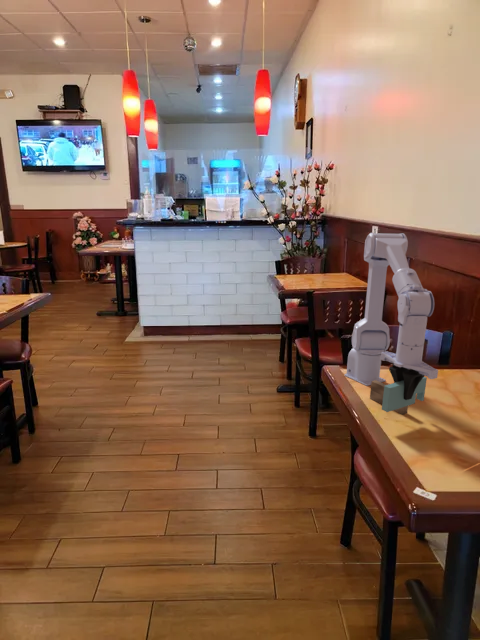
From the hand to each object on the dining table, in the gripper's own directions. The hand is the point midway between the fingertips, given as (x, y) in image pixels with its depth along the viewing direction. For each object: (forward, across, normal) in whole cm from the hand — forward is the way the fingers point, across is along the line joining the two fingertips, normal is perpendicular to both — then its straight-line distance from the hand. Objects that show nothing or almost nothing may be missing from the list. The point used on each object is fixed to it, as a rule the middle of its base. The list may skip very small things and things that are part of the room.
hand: (403, 397), depth 109 cm
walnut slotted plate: (+7, -8, +4) cm, 11 cm away
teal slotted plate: (+2, 0, 0) cm, 2 cm away
